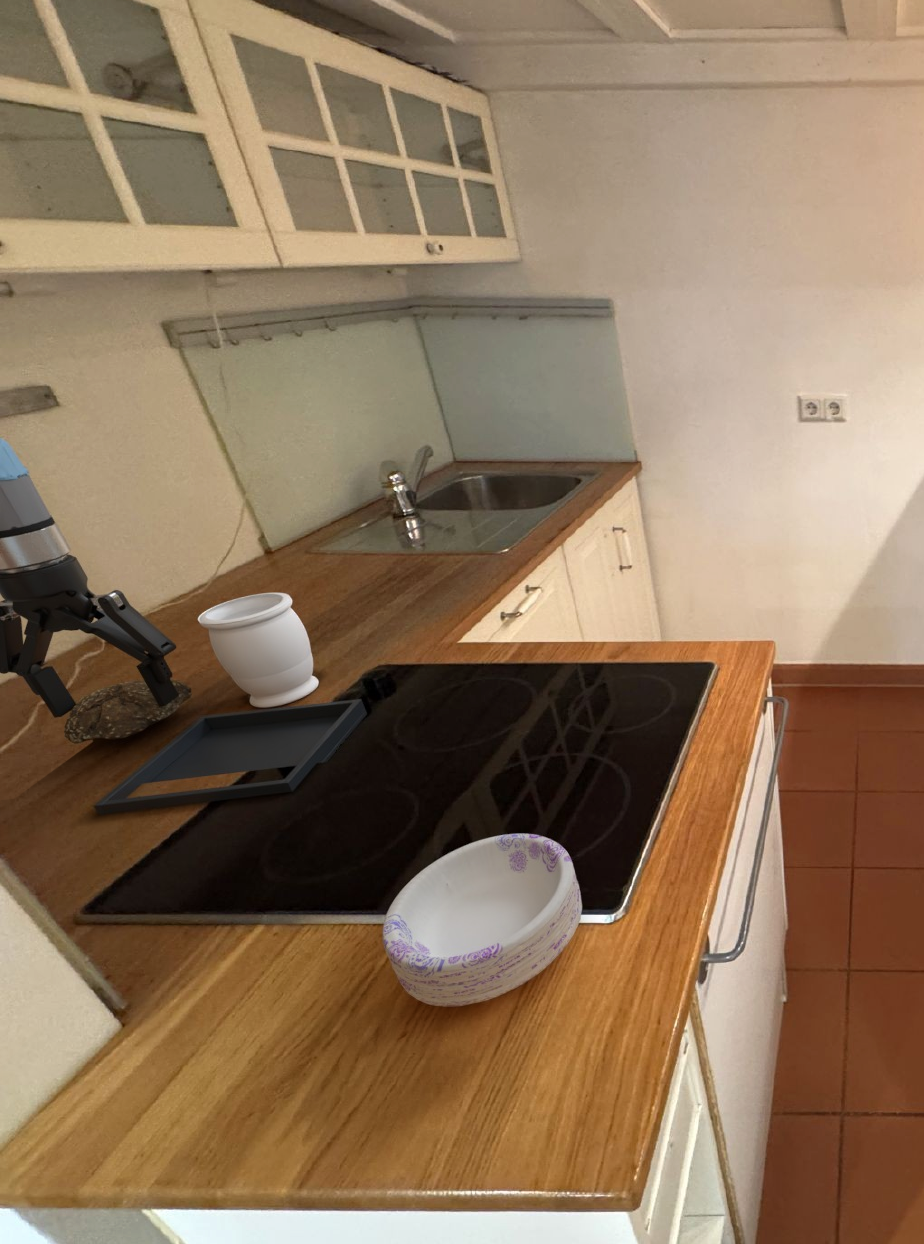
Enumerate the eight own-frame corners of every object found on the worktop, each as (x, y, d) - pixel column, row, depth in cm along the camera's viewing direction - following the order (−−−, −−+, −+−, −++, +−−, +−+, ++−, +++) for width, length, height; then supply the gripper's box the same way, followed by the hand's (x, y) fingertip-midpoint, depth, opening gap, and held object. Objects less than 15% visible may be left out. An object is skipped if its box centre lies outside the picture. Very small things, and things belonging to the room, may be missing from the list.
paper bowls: (608, 883, 72) (593, 825, 68) (555, 1026, 58) (533, 963, 55) (460, 891, 71) (437, 833, 68) (371, 1037, 58) (337, 974, 54)
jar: (254, 721, 100) (208, 630, 94) (233, 698, 106) (188, 610, 99) (338, 688, 108) (301, 602, 101) (314, 669, 113) (278, 585, 107)
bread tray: (104, 822, 82) (92, 805, 81) (209, 730, 98) (201, 715, 97) (296, 799, 85) (287, 782, 84) (367, 713, 101) (361, 698, 100)
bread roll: (97, 706, 101) (78, 677, 99) (202, 685, 105) (186, 657, 103) (44, 756, 90) (22, 725, 88) (163, 731, 94) (145, 700, 92)
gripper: (161, 543, 92) (232, 682, 101) (-52, 560, 88) (42, 701, 98) (117, 564, 85) (197, 710, 95) (-116, 583, 82) (-9, 733, 91)
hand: (118, 706), depth 96 cm, fingers closed on bread roll, 12 cm apart
